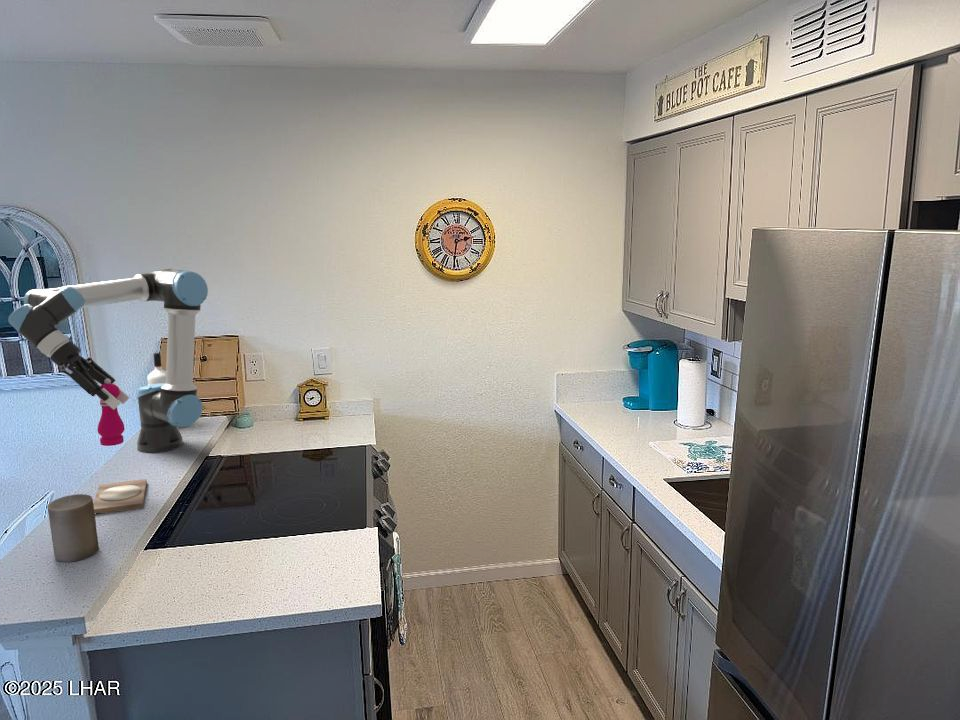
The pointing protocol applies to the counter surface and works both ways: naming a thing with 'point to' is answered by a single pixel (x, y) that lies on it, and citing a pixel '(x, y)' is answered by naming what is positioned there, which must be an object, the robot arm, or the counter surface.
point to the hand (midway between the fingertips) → (121, 403)
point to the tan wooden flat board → (120, 496)
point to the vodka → (157, 371)
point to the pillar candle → (73, 527)
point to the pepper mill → (110, 419)
